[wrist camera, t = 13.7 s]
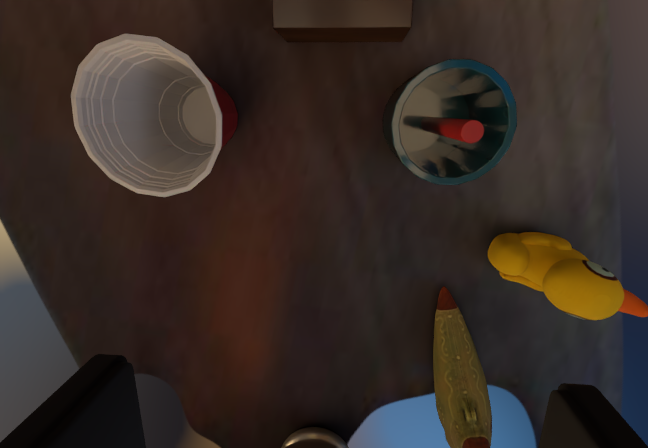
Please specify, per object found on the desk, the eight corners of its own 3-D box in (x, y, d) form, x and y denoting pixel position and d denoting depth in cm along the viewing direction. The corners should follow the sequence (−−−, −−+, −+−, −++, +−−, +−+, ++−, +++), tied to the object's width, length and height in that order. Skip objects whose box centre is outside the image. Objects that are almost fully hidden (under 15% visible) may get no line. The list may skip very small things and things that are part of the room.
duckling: (599, 246, 37) (684, 292, 28) (573, 292, 39) (644, 351, 29) (490, 212, 37) (537, 246, 28) (468, 260, 39) (505, 308, 29)
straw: (421, 116, 35) (462, 119, 21) (435, 117, 34) (485, 120, 21) (420, 131, 35) (459, 143, 22) (434, 131, 35) (482, 143, 21)
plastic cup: (147, 153, 38) (57, 171, 27) (167, 42, 35) (75, 9, 24) (247, 187, 39) (201, 219, 27) (276, 80, 35) (238, 65, 24)
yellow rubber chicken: (415, 284, 40) (434, 338, 30) (467, 276, 39) (503, 329, 30) (437, 434, 45) (459, 520, 36) (483, 430, 45) (518, 517, 35)
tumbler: (384, 73, 34) (395, 59, 25) (478, 74, 34) (527, 59, 24) (379, 164, 37) (387, 183, 27) (467, 166, 36) (507, 186, 27)
